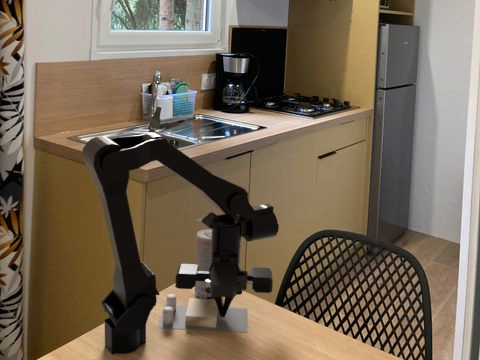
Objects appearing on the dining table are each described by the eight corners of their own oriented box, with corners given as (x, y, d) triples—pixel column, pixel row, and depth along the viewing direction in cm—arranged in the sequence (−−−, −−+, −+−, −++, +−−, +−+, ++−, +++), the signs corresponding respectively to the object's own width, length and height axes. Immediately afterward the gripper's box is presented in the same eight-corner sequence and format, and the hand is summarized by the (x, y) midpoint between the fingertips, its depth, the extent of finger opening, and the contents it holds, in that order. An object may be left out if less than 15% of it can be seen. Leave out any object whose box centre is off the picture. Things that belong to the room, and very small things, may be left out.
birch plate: (185, 325, 105) (185, 315, 105) (189, 307, 112) (189, 298, 111) (215, 327, 105) (216, 317, 105) (217, 309, 112) (218, 299, 111)
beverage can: (219, 303, 116) (222, 239, 112) (193, 302, 116) (195, 237, 112) (220, 291, 122) (223, 229, 117) (195, 289, 122) (198, 227, 117)
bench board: (157, 332, 104) (157, 314, 103) (164, 308, 113) (164, 291, 112) (247, 336, 105) (248, 318, 103) (246, 312, 113) (248, 295, 112)
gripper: (172, 260, 96) (171, 336, 101) (276, 265, 96) (270, 341, 101) (179, 236, 107) (178, 306, 111) (273, 240, 107) (268, 310, 111)
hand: (222, 316), depth 108 cm, fingers closed
